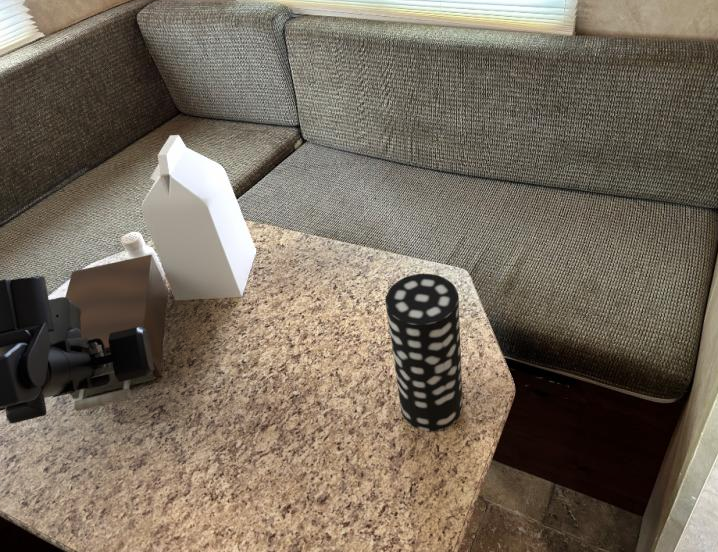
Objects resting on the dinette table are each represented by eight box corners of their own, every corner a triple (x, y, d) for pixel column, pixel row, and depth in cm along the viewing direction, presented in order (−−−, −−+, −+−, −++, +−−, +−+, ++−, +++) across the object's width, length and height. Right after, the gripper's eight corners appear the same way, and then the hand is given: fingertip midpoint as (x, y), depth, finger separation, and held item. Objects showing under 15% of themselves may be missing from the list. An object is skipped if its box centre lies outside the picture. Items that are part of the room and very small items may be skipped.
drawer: (152, 405, 84) (135, 376, 80) (67, 426, 83) (46, 398, 79) (162, 295, 102) (148, 267, 98) (92, 311, 101) (75, 283, 97)
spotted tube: (393, 424, 80) (375, 318, 67) (410, 375, 86) (397, 269, 73) (455, 437, 77) (449, 330, 65) (468, 385, 83) (465, 278, 71)
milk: (241, 297, 101) (194, 163, 85) (175, 300, 102) (115, 168, 86) (256, 251, 111) (216, 122, 94) (195, 254, 111) (145, 128, 95)
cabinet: (161, 376, 90) (141, 339, 84) (73, 397, 88) (47, 361, 83) (168, 290, 104) (151, 254, 99) (92, 307, 103) (72, 271, 98)
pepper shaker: (149, 289, 105) (128, 247, 99) (134, 282, 107) (113, 240, 101) (167, 276, 107) (148, 233, 101) (152, 269, 109) (133, 227, 103)
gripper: (115, 283, 70) (155, 291, 85) (-57, 321, 68) (16, 322, 83) (134, 378, 69) (170, 369, 84) (-41, 420, 66) (30, 403, 82)
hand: (97, 364), depth 83 cm, fingers closed, pressing on drawer
